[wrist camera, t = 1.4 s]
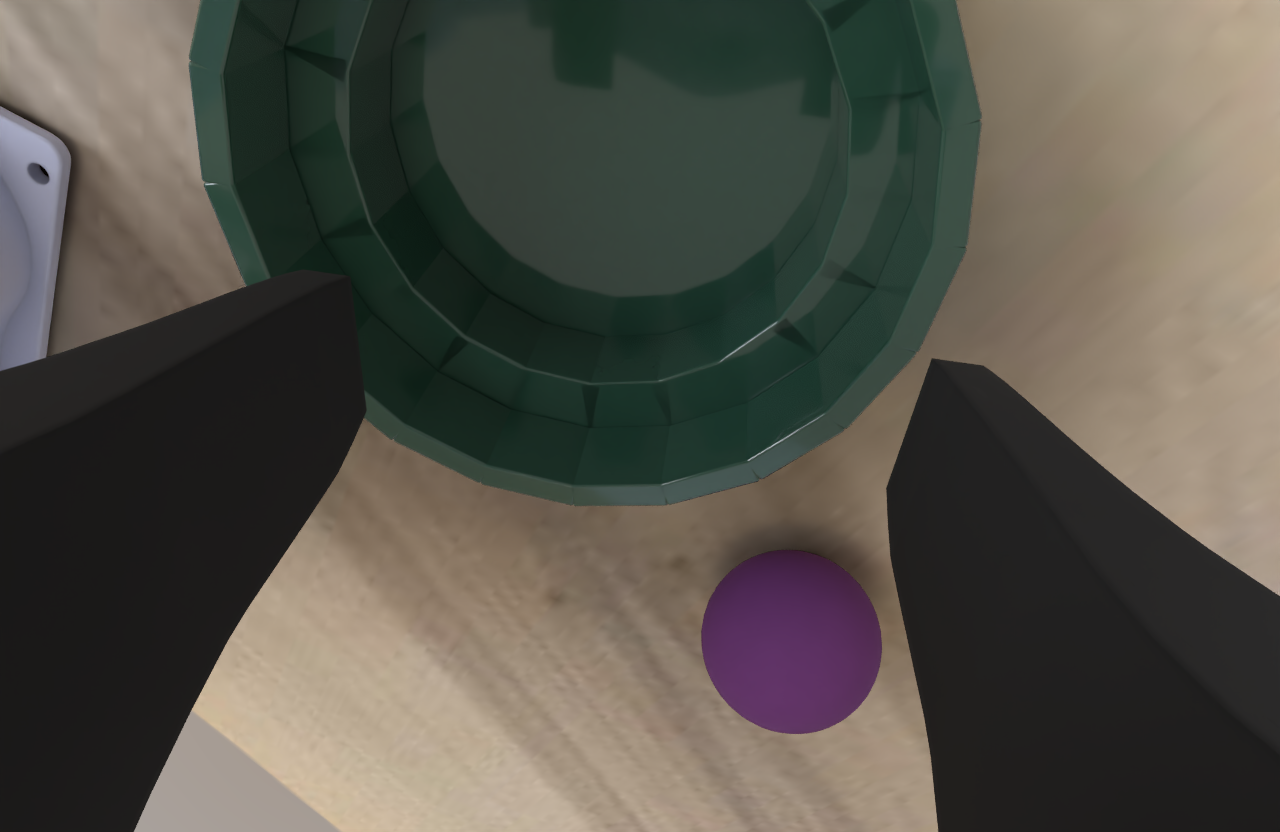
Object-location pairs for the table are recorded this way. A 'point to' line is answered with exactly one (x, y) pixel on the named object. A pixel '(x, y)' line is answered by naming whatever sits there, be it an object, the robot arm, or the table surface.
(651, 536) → the table surface
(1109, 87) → the table surface
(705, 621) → the ball
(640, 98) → the bowl
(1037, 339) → the table surface
